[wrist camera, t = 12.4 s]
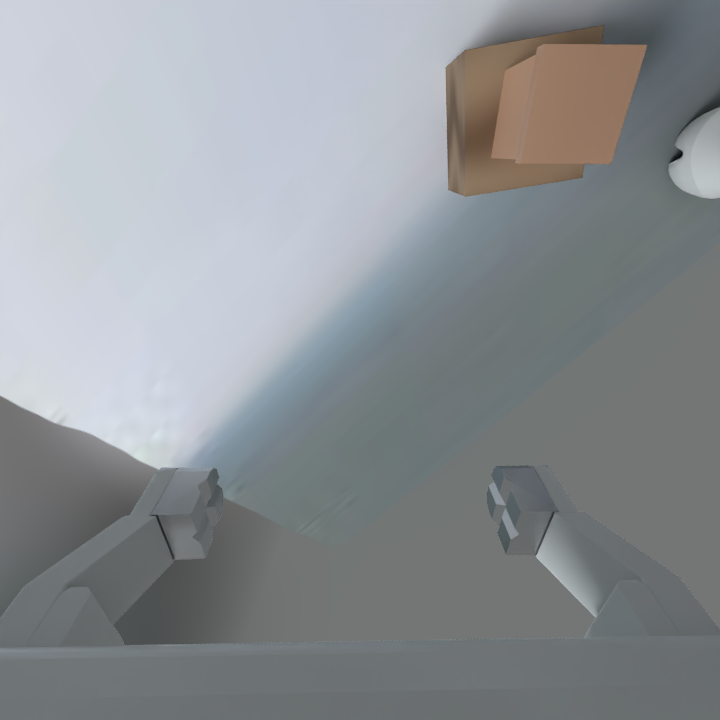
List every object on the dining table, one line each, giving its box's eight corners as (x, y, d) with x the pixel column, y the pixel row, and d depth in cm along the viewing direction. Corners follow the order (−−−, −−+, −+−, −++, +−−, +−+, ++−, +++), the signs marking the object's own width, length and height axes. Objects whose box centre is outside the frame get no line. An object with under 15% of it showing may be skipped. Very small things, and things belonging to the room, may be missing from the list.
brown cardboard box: (502, 66, 25) (543, 44, 19) (584, 67, 25) (647, 44, 19) (487, 161, 27) (520, 163, 22) (561, 161, 27) (611, 164, 22)
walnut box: (445, 68, 29) (465, 50, 24) (558, 47, 29) (604, 24, 24) (447, 189, 34) (465, 196, 29) (546, 173, 33) (582, 177, 28)
